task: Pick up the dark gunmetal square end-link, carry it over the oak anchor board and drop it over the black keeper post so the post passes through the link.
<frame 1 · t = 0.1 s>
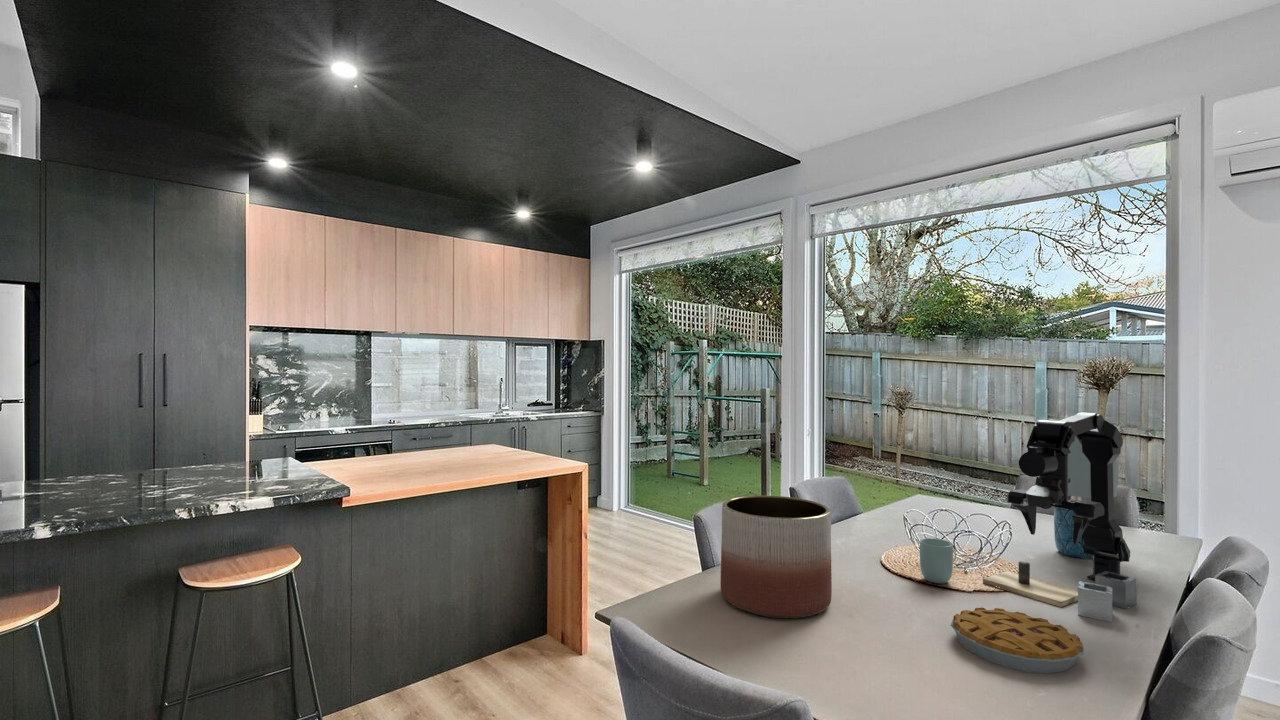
hand: (1053, 539, 144), 15 cm above the table, fingers open, 9 cm apart
cup: (936, 581, 156), on the table
lamp: (1076, 555, 181), on the table
grey open cube box: (1095, 614, 135), on the table
pie: (1014, 651, 118), on the table
anchor board: (1032, 590, 150), on the table
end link: (1115, 602, 143), on the table
planter: (774, 601, 142), on the table
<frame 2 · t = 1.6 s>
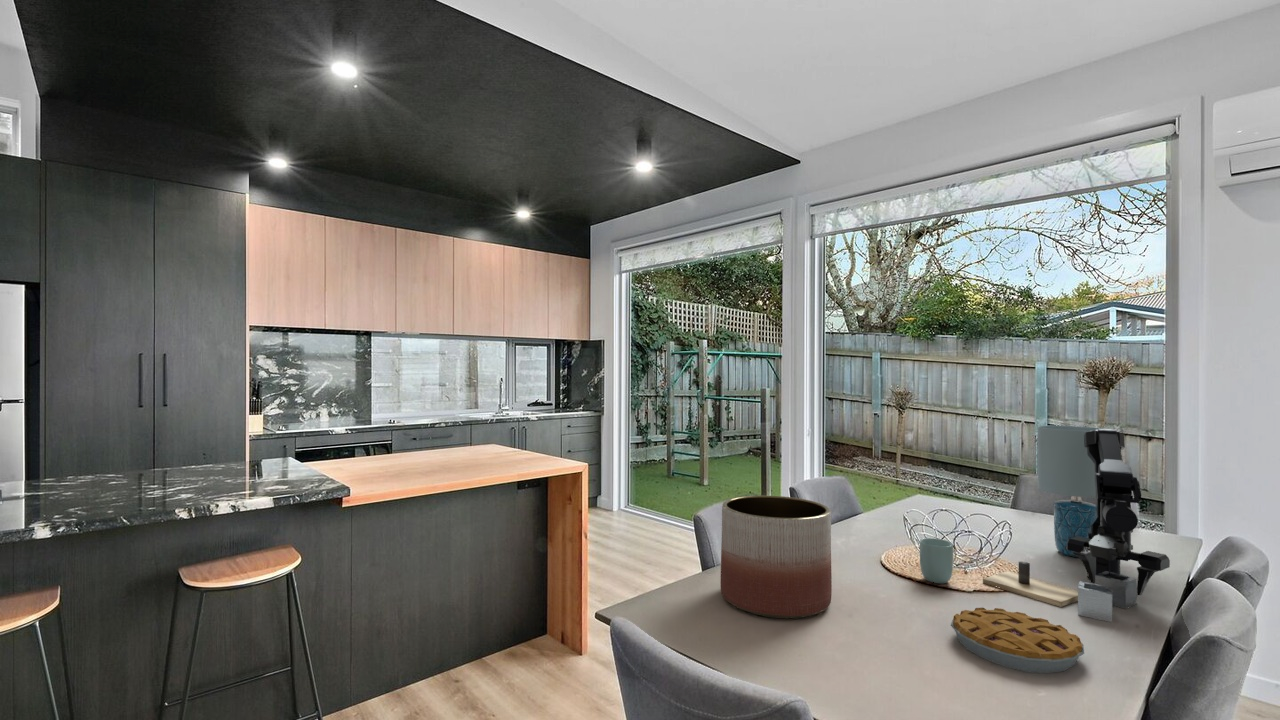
hand: (1115, 588, 143), 3 cm above the table, fingers open, 9 cm apart
nothing on the table moved.
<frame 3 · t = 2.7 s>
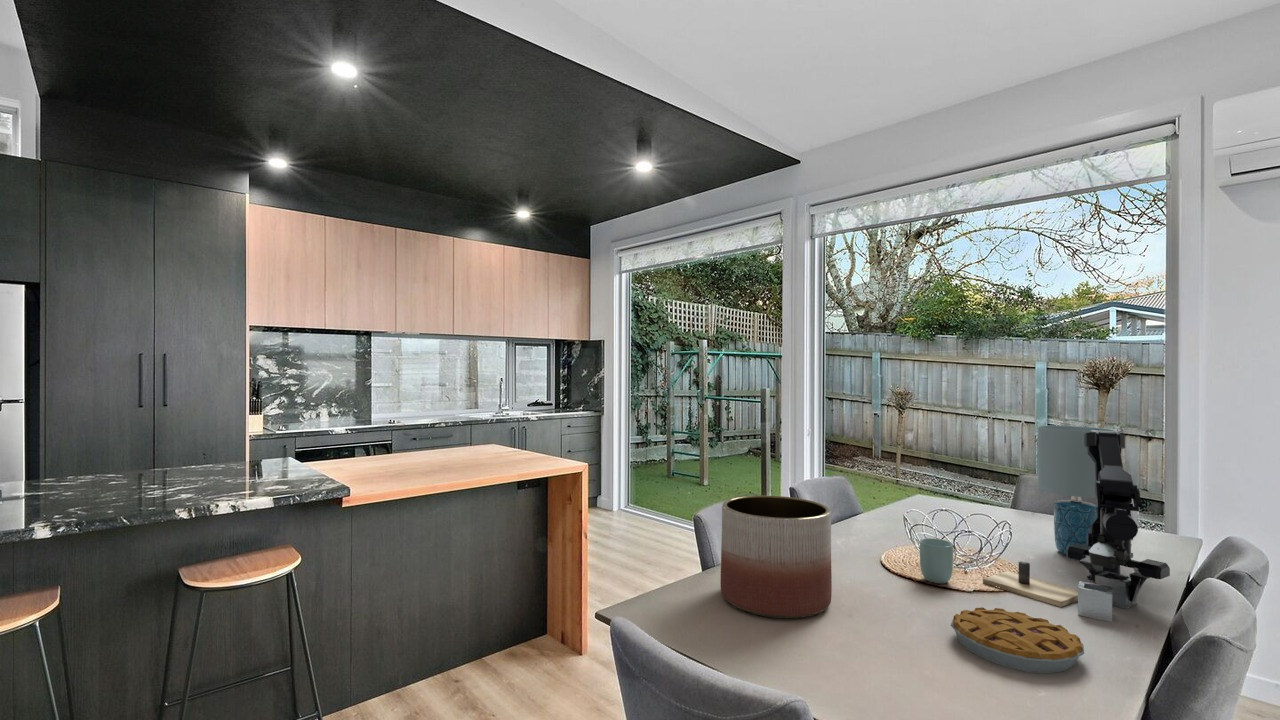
hand: (1115, 596, 143), 1 cm above the table, fingers closed on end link, 6 cm apart
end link: (1115, 602, 143), on the table, touching gripper
everything else where it was.
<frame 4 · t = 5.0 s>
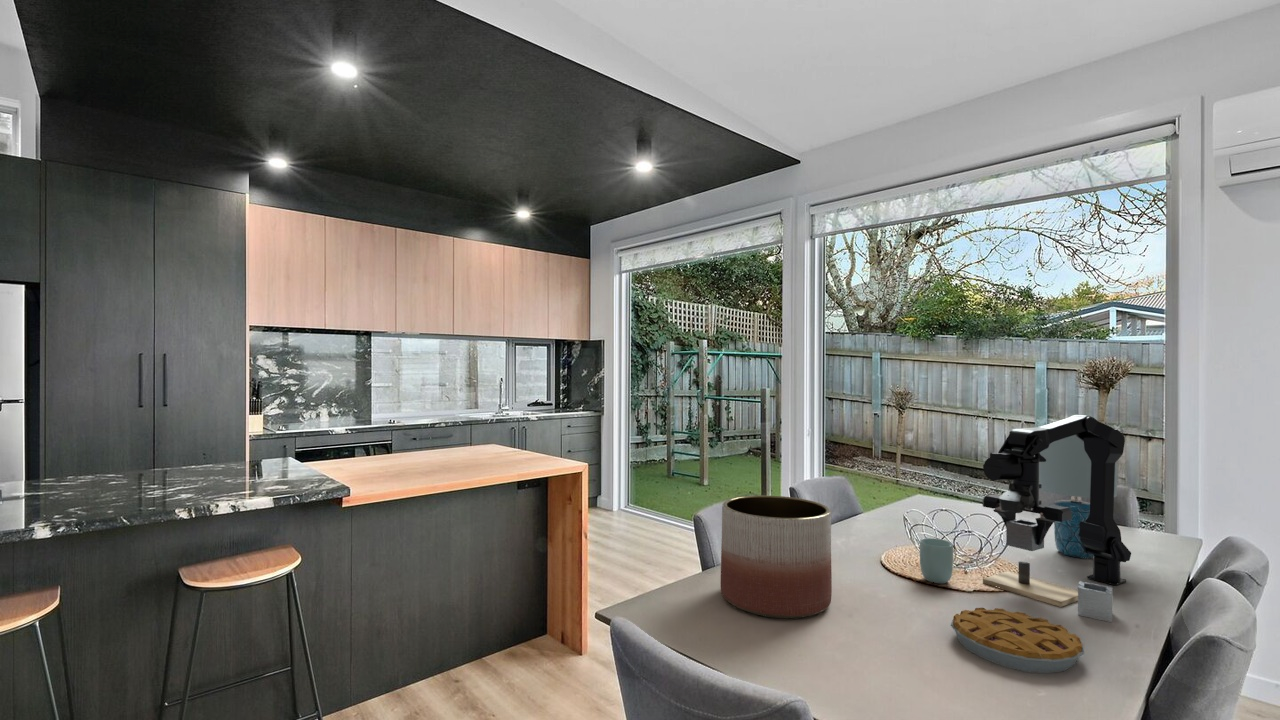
hand: (1025, 541, 152), 12 cm above the table, fingers closed on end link, 6 cm apart
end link: (1025, 546, 152), point 10 cm above the table, touching gripper
everything else where it was.
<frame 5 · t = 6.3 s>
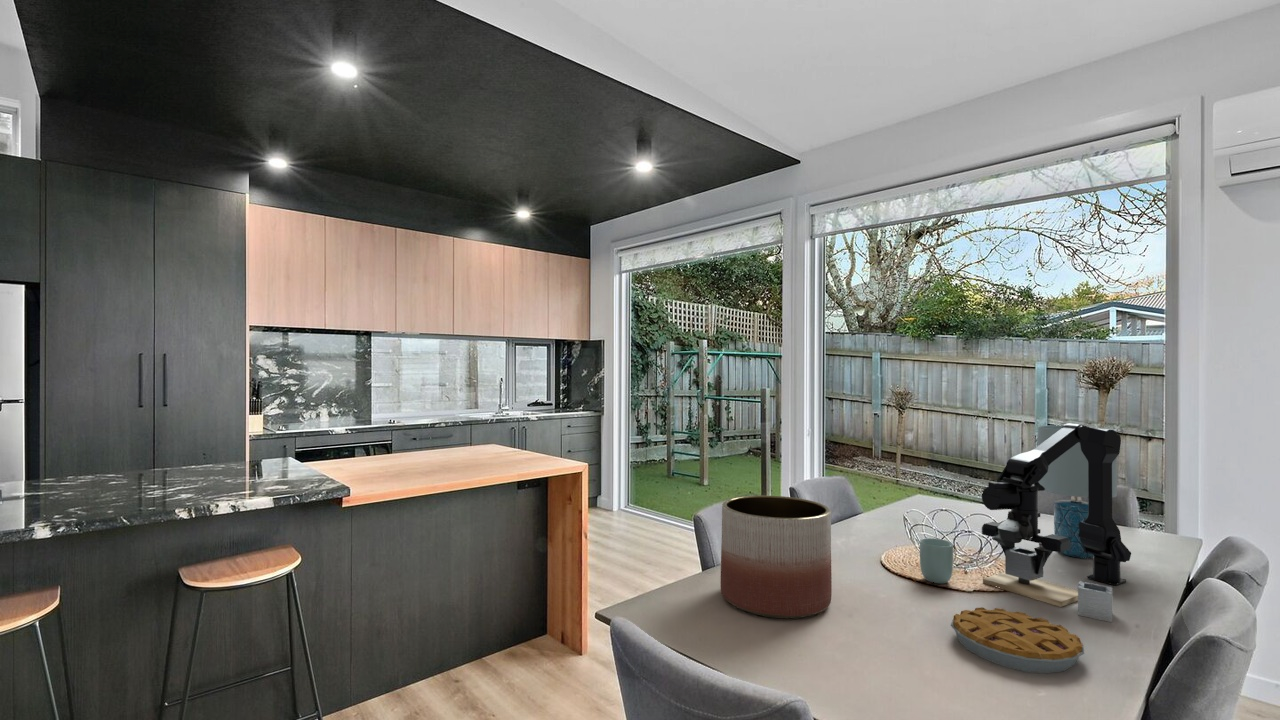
hand: (1024, 570, 152), 4 cm above the table, fingers closed on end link, 6 cm apart
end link: (1024, 575, 152), point 3 cm above the table, touching gripper
everything else where it was.
when the fingers open (4 cm above the table, at t = 7.2 s): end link drops 2 cm, resting on anchor board.
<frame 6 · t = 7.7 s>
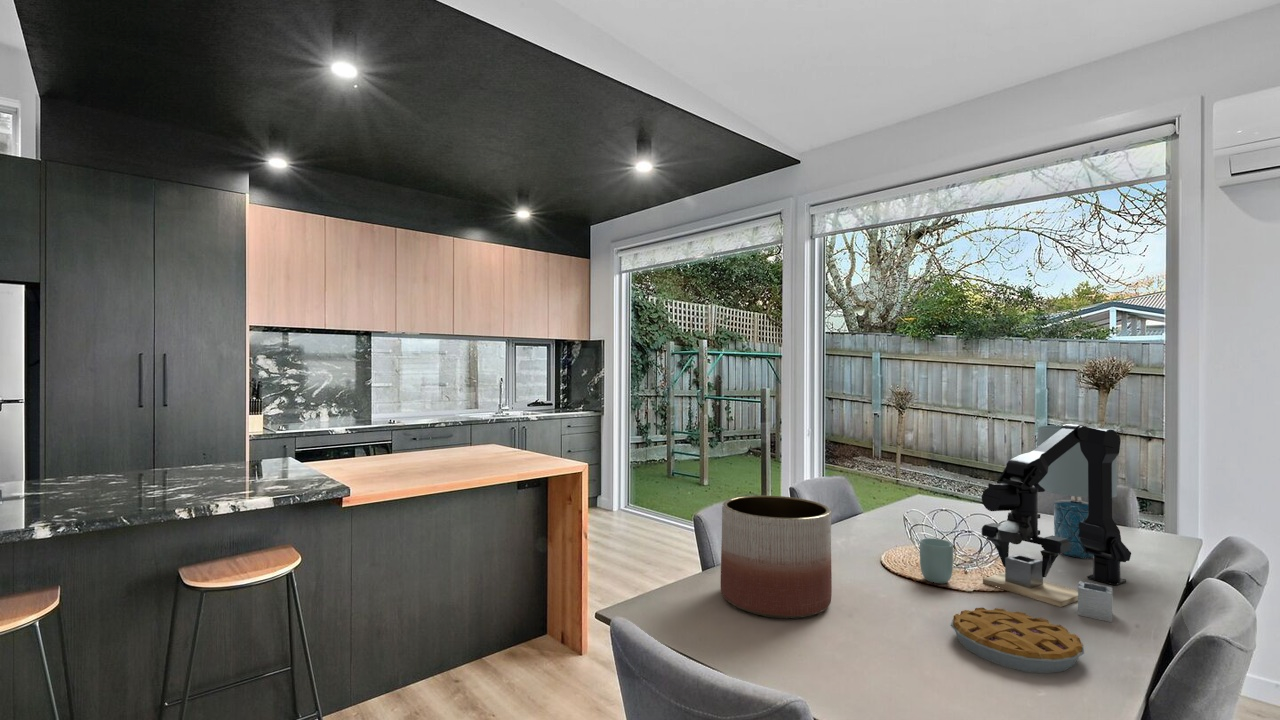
hand: (1024, 571, 152), 4 cm above the table, fingers open, 9 cm apart
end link: (1024, 582, 152), point 1 cm above the table, touching anchor board
everything else where it was.
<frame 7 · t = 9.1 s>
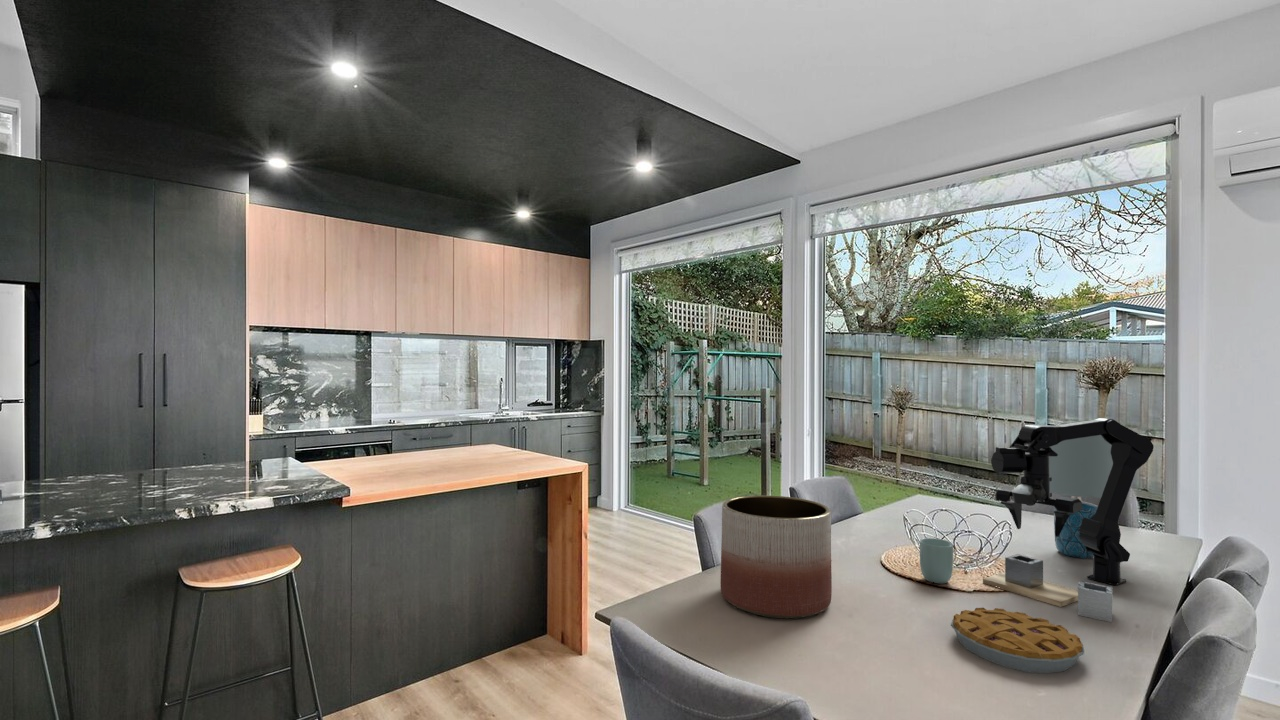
hand: (1037, 532, 159), 12 cm above the table, fingers open, 9 cm apart
nothing on the table moved.
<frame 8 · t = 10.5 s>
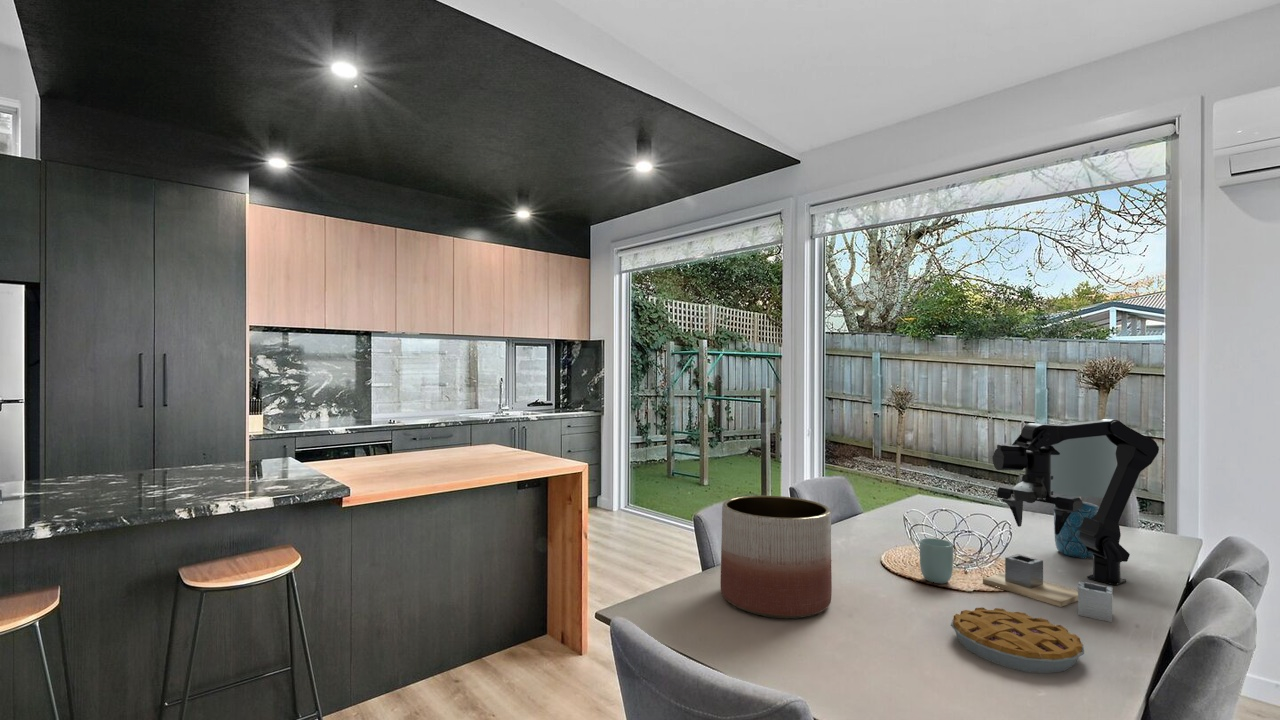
hand: (1037, 530, 160), 13 cm above the table, fingers open, 9 cm apart
nothing on the table moved.
at the end: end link 0.1 cm from the target spot on the anchor board, point 1.2 cm above the anchor board's base; the gripper is holding nothing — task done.
